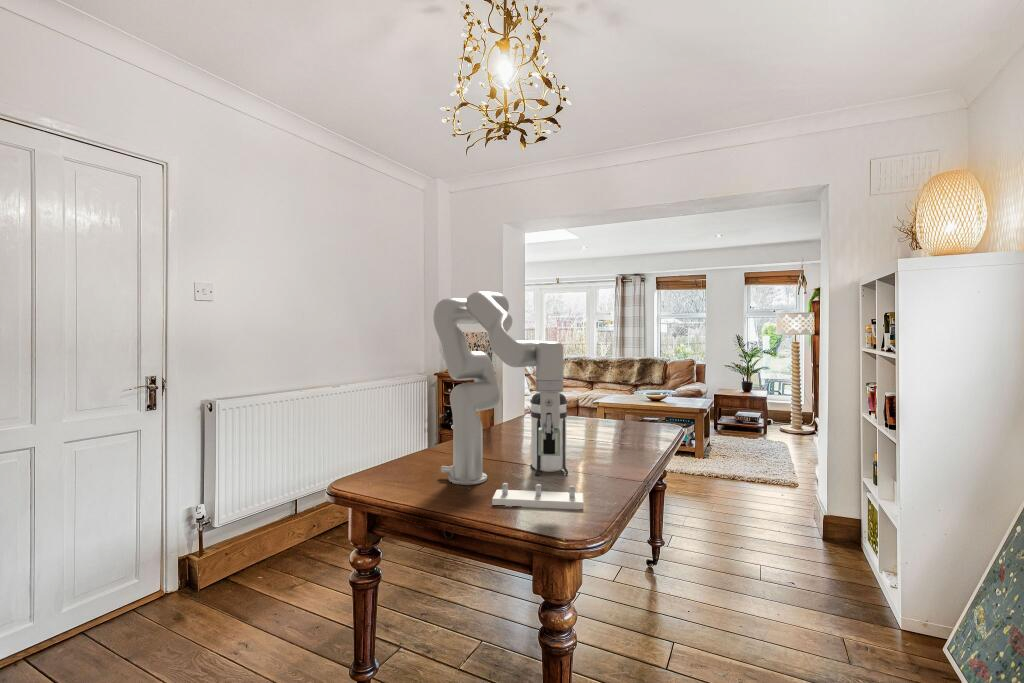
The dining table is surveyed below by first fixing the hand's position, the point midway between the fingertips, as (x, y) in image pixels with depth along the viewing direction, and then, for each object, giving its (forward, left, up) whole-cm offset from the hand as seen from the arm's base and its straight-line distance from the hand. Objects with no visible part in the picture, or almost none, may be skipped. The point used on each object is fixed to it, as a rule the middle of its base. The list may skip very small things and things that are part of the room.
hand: (549, 451), depth 139 cm
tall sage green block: (0, 0, -1) cm, 1 cm away
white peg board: (-3, +2, -15) cm, 16 cm away
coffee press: (-3, +35, -15) cm, 38 cm away
